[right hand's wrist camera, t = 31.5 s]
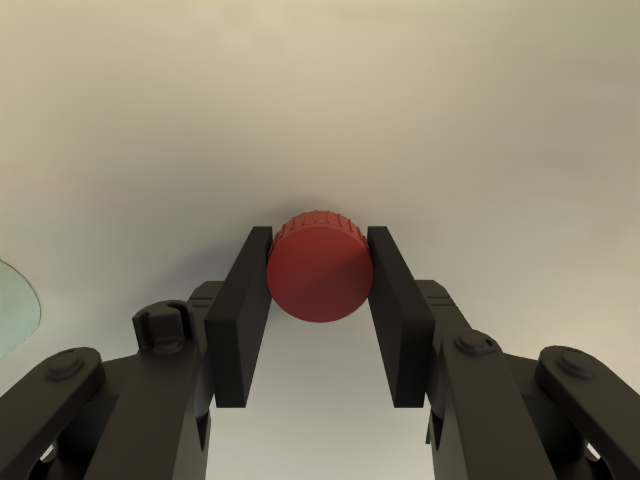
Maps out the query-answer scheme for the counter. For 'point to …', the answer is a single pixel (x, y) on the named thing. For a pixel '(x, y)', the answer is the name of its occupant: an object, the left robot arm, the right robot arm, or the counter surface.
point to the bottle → (16, 309)
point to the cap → (319, 267)
